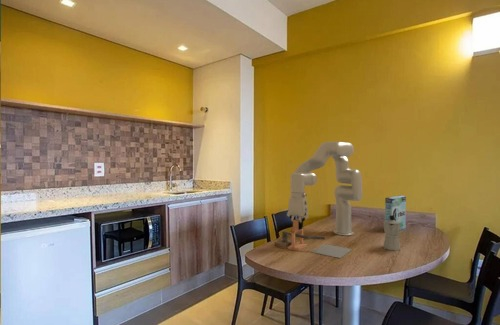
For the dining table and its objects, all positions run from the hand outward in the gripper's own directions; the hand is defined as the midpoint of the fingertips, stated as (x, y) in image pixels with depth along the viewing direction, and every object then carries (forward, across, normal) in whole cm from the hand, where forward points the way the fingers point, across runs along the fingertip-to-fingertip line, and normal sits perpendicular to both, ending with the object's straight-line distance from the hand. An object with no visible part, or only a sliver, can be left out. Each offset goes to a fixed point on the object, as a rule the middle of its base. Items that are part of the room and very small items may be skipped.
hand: (297, 228), depth 158 cm
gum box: (+11, -34, -77) cm, 85 cm away
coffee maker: (+11, -41, -32) cm, 53 cm away
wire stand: (+11, -1, 0) cm, 11 cm away
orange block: (+11, 0, 0) cm, 11 cm away
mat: (+11, -18, -6) cm, 21 cm away
